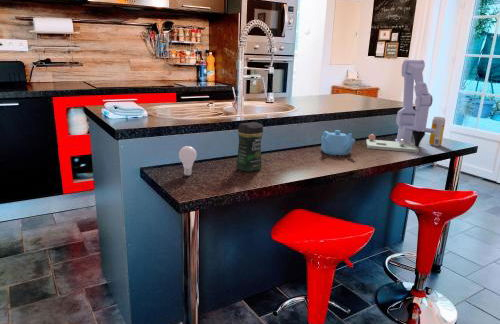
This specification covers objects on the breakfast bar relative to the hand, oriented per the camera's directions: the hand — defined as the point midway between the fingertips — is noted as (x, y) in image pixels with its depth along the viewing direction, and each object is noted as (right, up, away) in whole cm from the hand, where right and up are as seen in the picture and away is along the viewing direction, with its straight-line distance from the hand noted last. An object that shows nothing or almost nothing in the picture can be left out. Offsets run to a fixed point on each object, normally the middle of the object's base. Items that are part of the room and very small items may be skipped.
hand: (416, 146), depth 195 cm
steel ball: (-7, +2, +1) cm, 7 cm away
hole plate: (-11, 0, +5) cm, 12 cm away
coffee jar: (-85, -11, -43) cm, 96 cm away
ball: (-19, +5, +12) cm, 23 cm away
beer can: (+16, +1, +14) cm, 21 cm away
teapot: (-43, -4, -11) cm, 45 cm away
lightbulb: (-107, -13, -54) cm, 120 cm away
